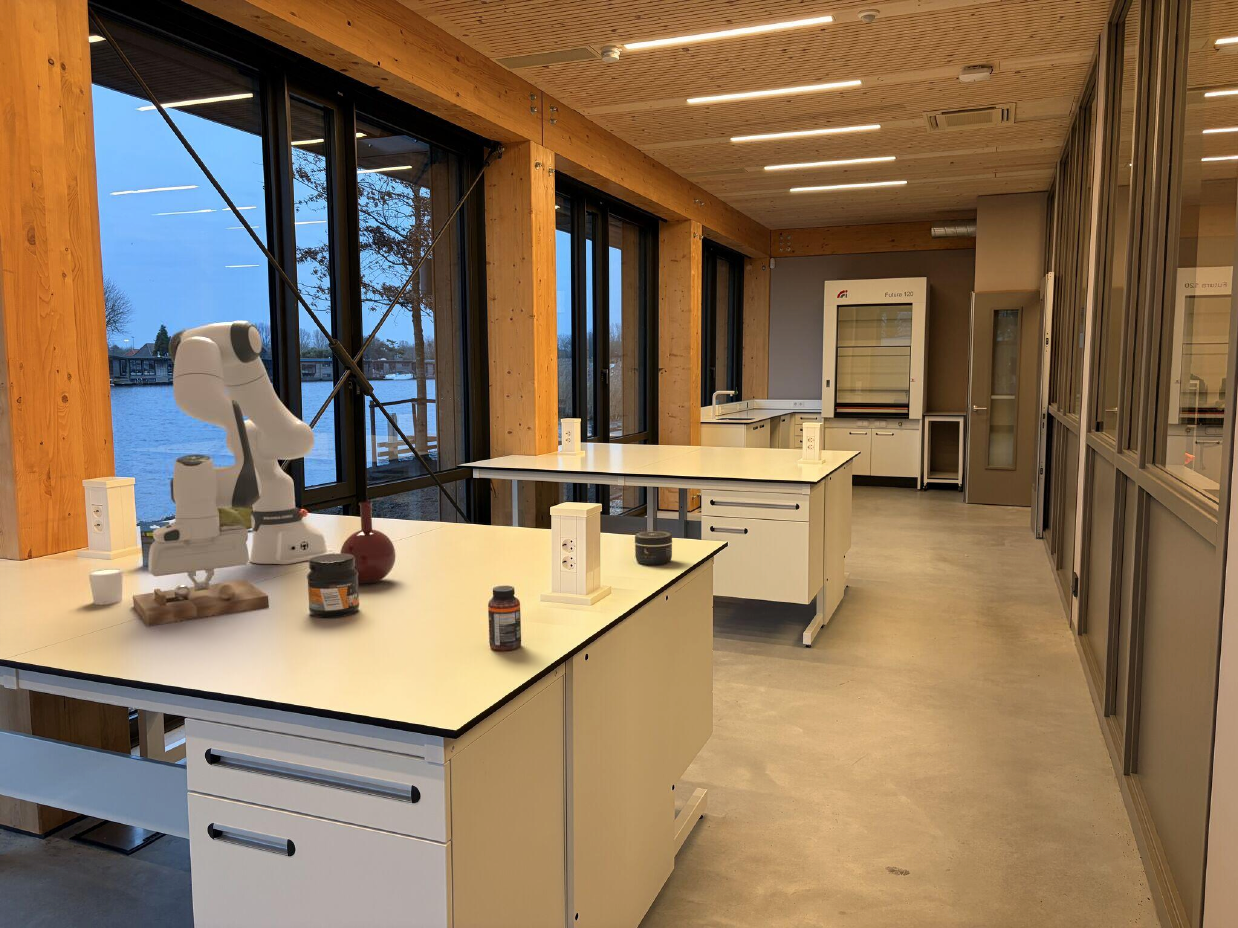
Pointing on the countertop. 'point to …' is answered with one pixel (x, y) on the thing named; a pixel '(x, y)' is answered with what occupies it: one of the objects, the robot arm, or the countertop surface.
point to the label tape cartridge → (148, 538)
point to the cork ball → (226, 592)
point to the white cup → (106, 586)
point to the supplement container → (333, 585)
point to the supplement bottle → (504, 619)
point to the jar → (653, 548)
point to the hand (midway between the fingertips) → (201, 589)
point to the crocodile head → (235, 517)
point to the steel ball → (182, 592)
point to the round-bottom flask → (370, 549)
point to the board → (198, 603)
